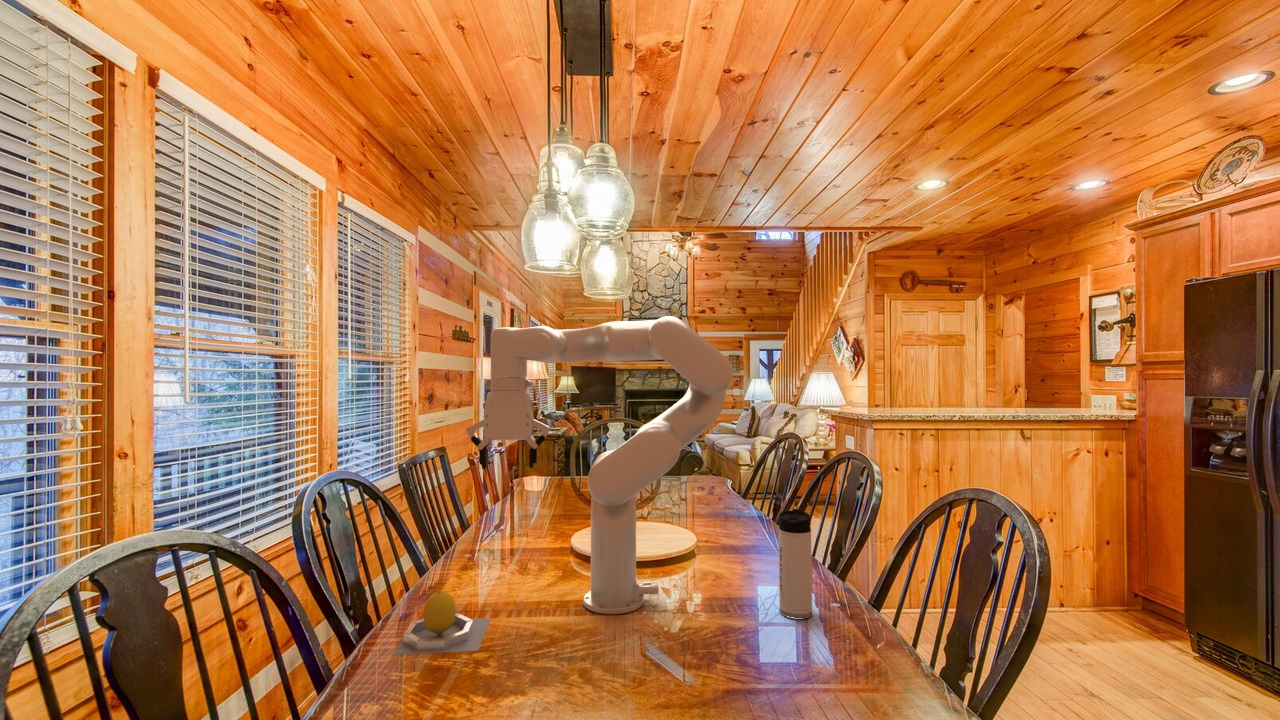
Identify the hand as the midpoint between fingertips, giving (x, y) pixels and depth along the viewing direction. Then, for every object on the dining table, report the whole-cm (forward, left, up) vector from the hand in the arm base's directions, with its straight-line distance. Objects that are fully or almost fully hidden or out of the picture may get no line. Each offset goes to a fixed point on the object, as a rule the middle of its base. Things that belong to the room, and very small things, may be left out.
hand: (508, 467), depth 119 cm
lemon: (+10, +16, -28) cm, 33 cm away
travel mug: (-58, +11, -28) cm, 66 cm away
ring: (+10, +16, -27) cm, 33 cm away
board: (+9, +16, -28) cm, 34 cm away
